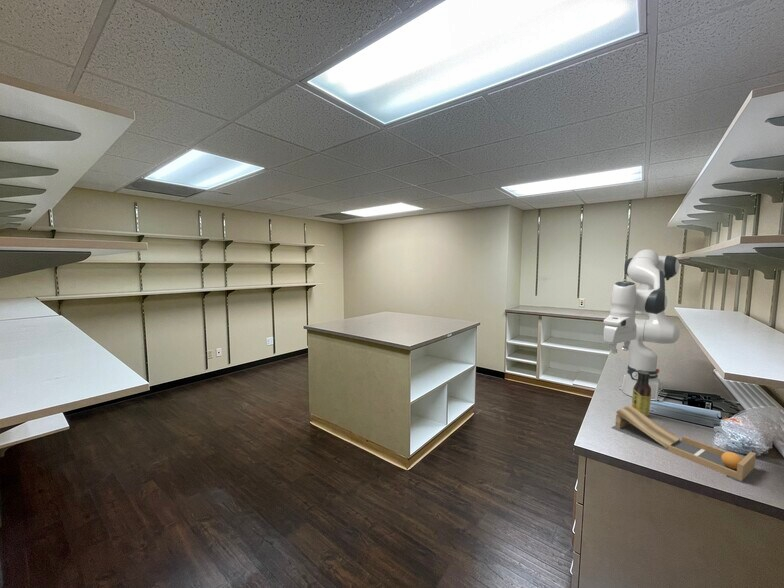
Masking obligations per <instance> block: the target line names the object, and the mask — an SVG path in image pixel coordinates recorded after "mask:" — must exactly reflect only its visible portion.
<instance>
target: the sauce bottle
mask: <svg viewBox="0 0 784 588" xmlns="http://www.w3.org/2000/svg"><path fill="white" fill-rule="evenodd" d="M649 377H650V374H649V373H648V372H645V371H638V380H637V382H636V384H635V386H634V388H633V397H632V396H631V397H632V398H631V399H632V400H631V407H633V408H635V409H636V410H638V411H639V412H641V413H642V414H644V415H645V416H647V417H648V418H649V415H650V410H651V409H650V408H651V401H652V400H651V387H650V386H649V384H648V383H649Z"/></svg>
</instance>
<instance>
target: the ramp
mask: <svg viewBox="0 0 784 588" xmlns="http://www.w3.org/2000/svg"><path fill="white" fill-rule="evenodd" d="M629 424H633V425H634V426H636V427H637V428H638V429H640V430H641V431H643V432H644V433H645V434H647V435H648V436H650V437H651V438H653V439H654V440H655V441H657V442H658V443H660V444H661V445H663V446H664V447H665V448H668V445H673V444H675V443H676V442H678V441H679V440H681V438H680V437H678V436H677V435H675V434H674V433H672V432H671V431H669V430H667V429H666V428H665V427H663V426H662V425H660V424H659V423H657V422H656V421H654V420H653V419H651V418H650V417H649V416H648V417H647V416H645V415H644V414H642V413H641V412H639V411H638V410H636V409H635V408H633V407H632V405H631V404H629V405H628V406H624V407H623V408H620V409H619V410H617V411H616V415H615V425H614V426H615V427H616V428H619V429H621V428H623V427H625V426H627V425H629Z"/></svg>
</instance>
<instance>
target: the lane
mask: <svg viewBox="0 0 784 588" xmlns="http://www.w3.org/2000/svg"><path fill="white" fill-rule="evenodd" d="M610 428H611V429H612V430H615V431H618V432H620V433H622V434H625V435H627V436H630V437H633V438H635V439H637V440H640V441H642V442H644V443H648V444H650V445H652V446H655V447H657V448H659V449H662V450H665V451H666V452H670V453H672V454H674V455H675V456H678V457H681V458H684V459H685V460H689V461H692V462H694V463H696V464H699V465H701V466H702V467H703V466H704V467H706V468H707V469H708V468H709V469H711V470H712V471H715V472H719V473H720V474H723V475H725V476H726V477H727V478H729V479H732V480H734V479H735V481H738V482H739V481H740V483H741V484H743V483H744V482H746V480H748V478H749V477H750V476H751V475H752V474H753V473H754V472H755V471H756V470H757V469H756V468H755V464H756V458H757V457H756V456H757V453H756V452H753V451H750V452H748V453H747V454H746V455H745V456H744V457H742V456H740V457H741V458H742V460H741V461H740V462H739V463H738V465H737V469H732V468H729V467H727V466H726V465H725V464H724V463H723V462H722V460H721V456H722V454H723V453H725V452H727V450H726V451H725V450H724V449H720V448H718V447H714V446H712V445H710V444H709V445H708V444H706V443H703V442H701V441H698V440H695V439H692V438H690V437H687V436H685V435H682V437H681V439H680V440H679V441H678V442H676V443H675V444H673V445H668V448H665V447H664V446H663V445H661V444H660V443H658V442H657V441H655V440H654V439H653V438H651V437H650V436H648V435H647V434H645V433H644V432H643V431H641V430H640V429H638V428H637V427H636V426H634V425H633V424H629V425H627V426H625V427H623V428H621V429H619V428H616V427H615V425H614V426H611V427H610Z"/></svg>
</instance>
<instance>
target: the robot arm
mask: <svg viewBox="0 0 784 588" xmlns="http://www.w3.org/2000/svg"><path fill="white" fill-rule="evenodd" d="M624 262H625V263H624V265H623V270H624V274H625V275H626V276H627V277H628V278H629V279H630V280H632V281H633V282H632V281H628V280H627V281H625V280H623V281H616V282H615V283H614V284H613V285H612V290H611V296H610V304H611V305H610V306H611V308H610V311H609V315H608V316H606V318H604V319H603V325H604V327H603V342H604V343H605V344H609V348H610V353H611V354H614V355H615V354H618V348H617V345H618V344H620V343H621V344H622V343H623V345H622V351H626V352H627V351H628V357H629V358H628V365H627V367H626V369H627V370H626V374H624V375H623V381H622V385H621V386H619V390H620V391H622V392H623V394H625V395H627V396H629V397H633V388H634V386H635V384H636V382H637V380H638V371H645V372H648V373H649V374H650V377H649V383H648V384H649V386H650V387H651V399H660V400H663V399H664V398H662V397H660V396H658V394H659V393H661V390H663V386H664V385H663V382H662V381H661V380H660V379H659V378H658V377H659V375H658V374H659V373H660V369H659V368H657V366H658V354H657V353H656V352H655V351H654V350H652V349H650V348H649V347H647V346H646V345H645V344H644V342H647V343H654V344H665V345H667V344H674V343H676V342H677V341H678V340H679V338H681V337H680V336H681V331H680V329H679V326H678V325H676V323H674V322H672V321H671V320H670V319H669V318H668V317H667V315H666V313H665V310H666V308H667V306H668V298H667V295H666V281H669V280H670V279H671V278H674V277H675V276H676V275H677V274H678V272H679V270H680V261H679V259H678V258H677V257H676V256H673V255H659V254H658V253H657V251H655V250H653V249H646V248H645V249H642V250H639V251H638V252H636V253H635V254H634V255H633V257H629V258H628V259H627V260H625V261H624ZM636 283H638V284H639V286H638V289H637V284H636ZM636 312H637V313H638V312H639V313H641V314H642V315H645V316H646V317H648V319H643V318H636ZM664 400H665V399H664ZM664 400H663V401H664Z"/></svg>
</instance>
